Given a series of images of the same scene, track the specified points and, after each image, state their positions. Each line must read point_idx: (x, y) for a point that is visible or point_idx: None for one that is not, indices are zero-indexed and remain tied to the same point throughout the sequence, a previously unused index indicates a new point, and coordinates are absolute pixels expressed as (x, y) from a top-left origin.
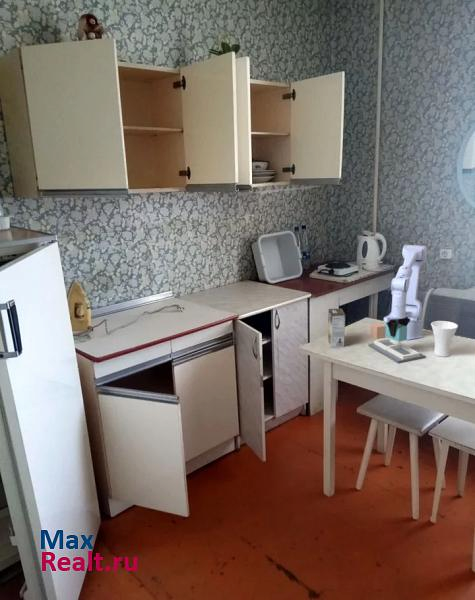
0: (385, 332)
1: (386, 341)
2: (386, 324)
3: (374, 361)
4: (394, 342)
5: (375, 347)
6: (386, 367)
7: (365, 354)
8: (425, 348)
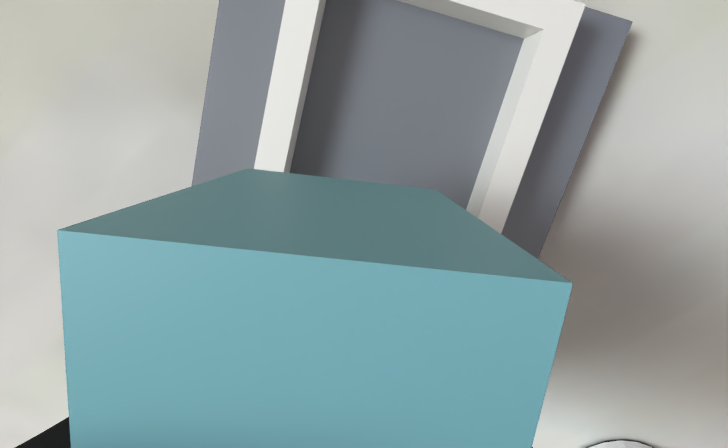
0: (216, 180)
1: (475, 18)
2: (72, 277)
3: (4, 266)
4: (500, 128)
5: (222, 52)
6: (20, 404)
7: (32, 84)
8: (641, 353)
